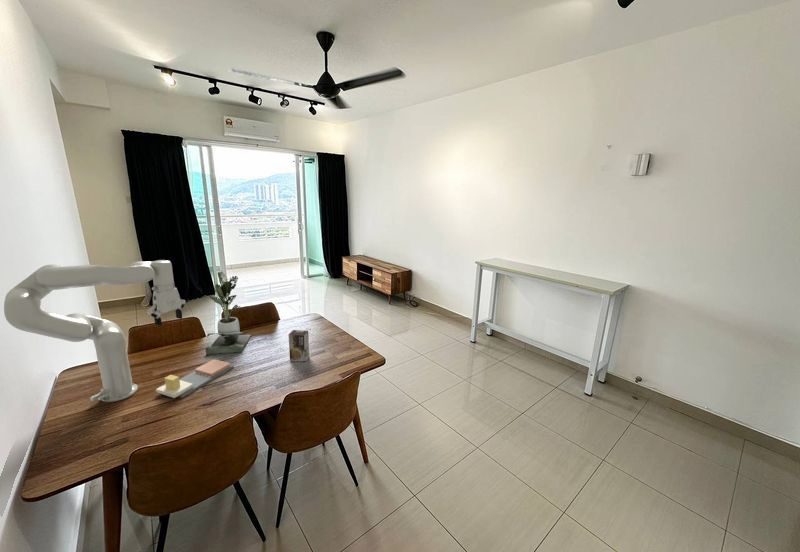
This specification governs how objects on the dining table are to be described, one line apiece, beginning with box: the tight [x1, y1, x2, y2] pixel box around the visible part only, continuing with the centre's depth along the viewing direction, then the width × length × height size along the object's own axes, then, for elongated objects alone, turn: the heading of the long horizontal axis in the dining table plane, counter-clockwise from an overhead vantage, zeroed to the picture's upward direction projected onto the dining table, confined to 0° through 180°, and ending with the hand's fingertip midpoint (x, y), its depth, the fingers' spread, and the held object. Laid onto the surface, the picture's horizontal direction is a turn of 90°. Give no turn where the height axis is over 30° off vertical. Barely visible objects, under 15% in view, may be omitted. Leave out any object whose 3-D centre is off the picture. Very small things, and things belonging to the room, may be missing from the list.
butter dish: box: [155, 374, 194, 399], centre depth 142 cm, size 9×11×7 cm
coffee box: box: [287, 329, 310, 362], centre depth 175 cm, size 9×6×16 cm
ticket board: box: [177, 358, 234, 399], centre depth 154 cm, size 28×13×3 cm, turn 161°
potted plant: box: [205, 271, 252, 355], centre depth 184 cm, size 22×19×45 cm
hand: (169, 321), depth 149 cm, fingers open, 9 cm apart
